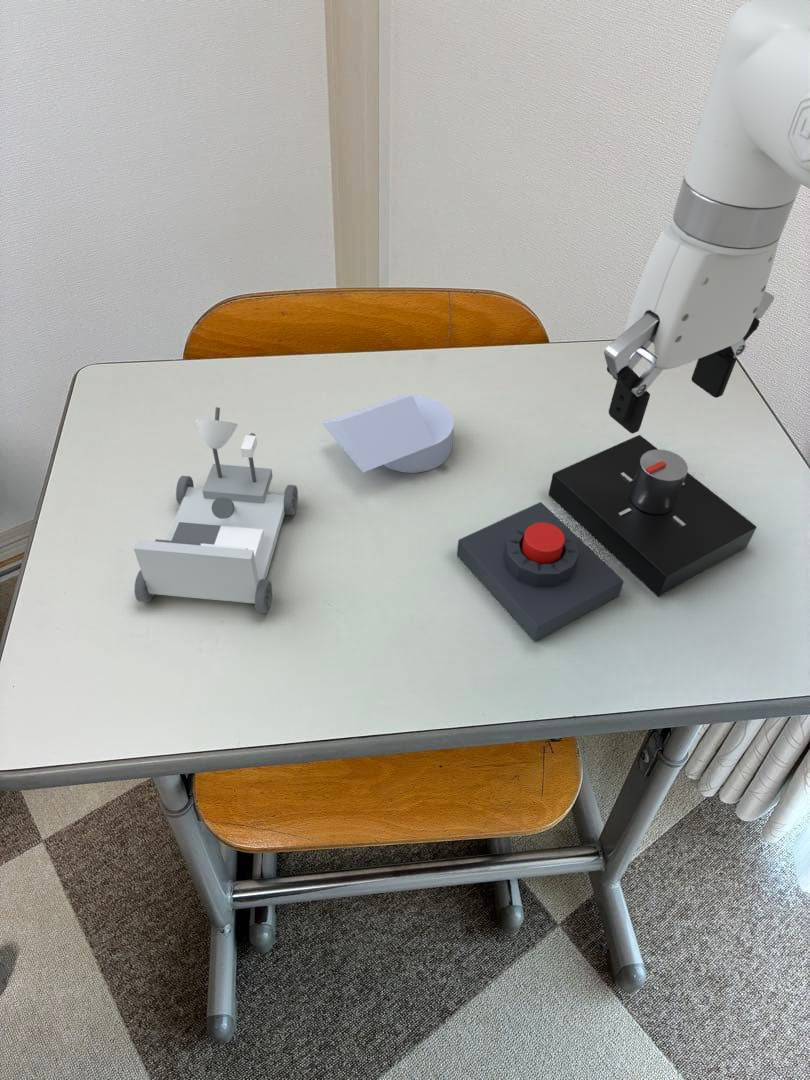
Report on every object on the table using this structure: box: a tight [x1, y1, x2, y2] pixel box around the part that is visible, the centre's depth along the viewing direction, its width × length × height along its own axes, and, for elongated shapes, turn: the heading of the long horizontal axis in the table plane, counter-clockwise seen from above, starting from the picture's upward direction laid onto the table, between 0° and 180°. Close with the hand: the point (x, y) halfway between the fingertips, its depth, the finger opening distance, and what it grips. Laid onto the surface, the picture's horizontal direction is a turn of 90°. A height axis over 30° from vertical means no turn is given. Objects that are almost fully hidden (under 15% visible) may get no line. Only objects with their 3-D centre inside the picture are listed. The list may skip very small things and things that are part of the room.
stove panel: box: [548, 434, 758, 598], centre depth 79 cm, size 16×12×3 cm
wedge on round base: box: [321, 394, 455, 474], centre depth 84 cm, size 9×7×13 cm
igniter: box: [456, 501, 625, 642], centre depth 74 cm, size 12×10×4 cm
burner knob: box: [630, 448, 689, 514], centre depth 76 cm, size 4×4×5 cm
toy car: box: [133, 407, 299, 614], centre depth 74 cm, size 18×10×12 cm
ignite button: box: [522, 523, 565, 564], centre depth 72 cm, size 4×4×2 cm
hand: (665, 405), depth 69 cm, fingers open, 9 cm apart
